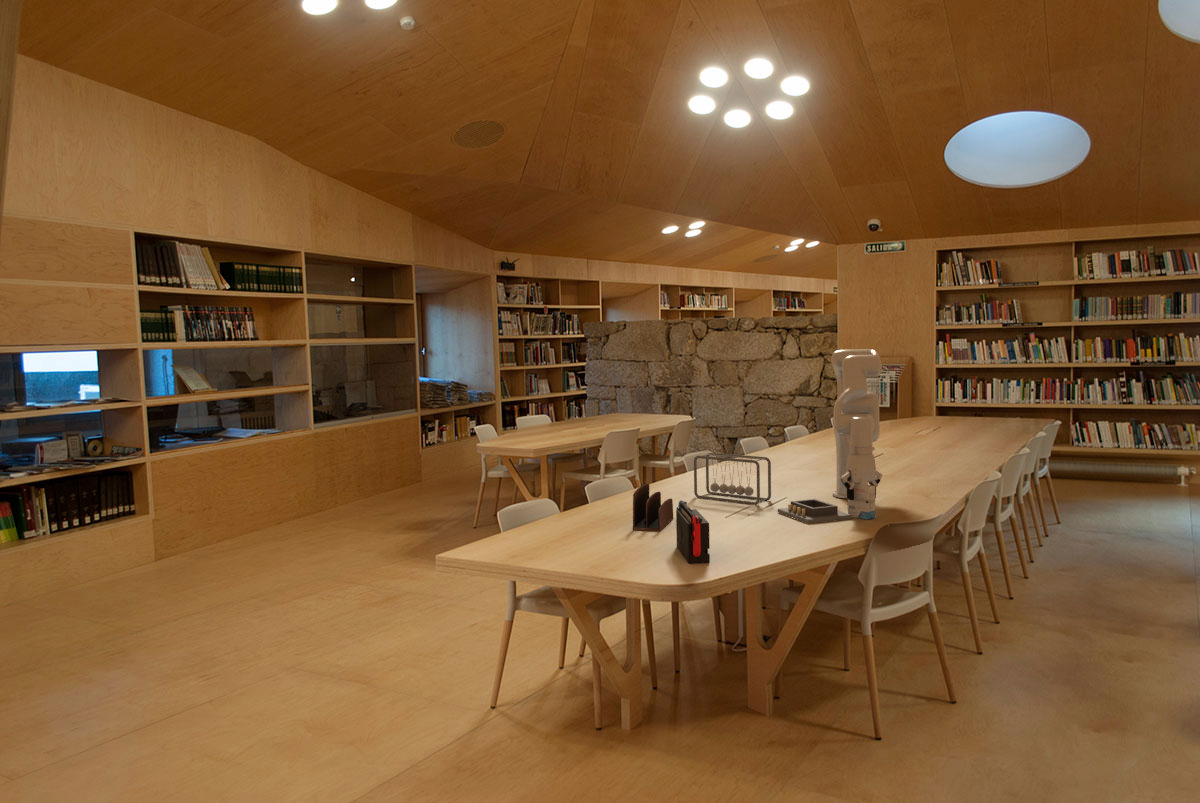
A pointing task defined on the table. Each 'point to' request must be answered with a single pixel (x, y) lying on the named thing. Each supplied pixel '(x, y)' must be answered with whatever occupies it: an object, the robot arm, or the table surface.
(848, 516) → the dock board
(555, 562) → the table surface
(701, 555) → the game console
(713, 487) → the newton's cradle
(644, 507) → the letter holder
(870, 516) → the ink box
